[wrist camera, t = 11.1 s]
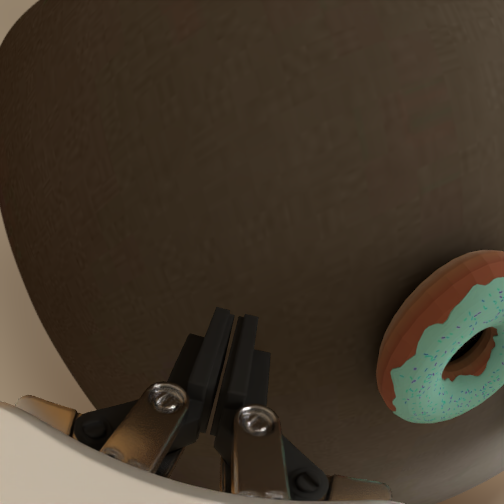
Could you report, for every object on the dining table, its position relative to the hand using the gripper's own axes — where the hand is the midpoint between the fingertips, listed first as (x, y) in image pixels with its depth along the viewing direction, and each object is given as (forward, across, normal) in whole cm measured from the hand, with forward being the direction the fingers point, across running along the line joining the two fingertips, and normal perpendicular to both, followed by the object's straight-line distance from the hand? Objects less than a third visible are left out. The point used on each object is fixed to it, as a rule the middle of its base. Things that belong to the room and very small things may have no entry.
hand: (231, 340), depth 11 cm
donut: (+4, -13, -1) cm, 14 cm away
